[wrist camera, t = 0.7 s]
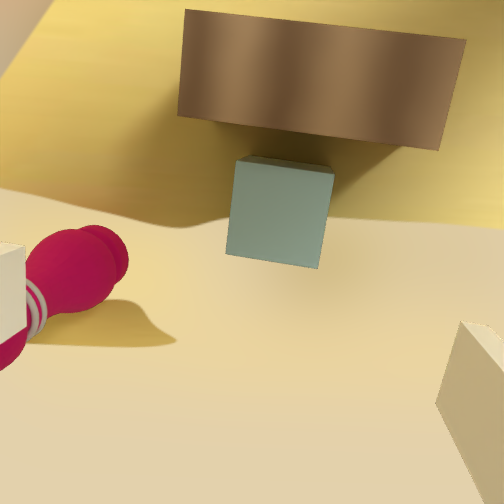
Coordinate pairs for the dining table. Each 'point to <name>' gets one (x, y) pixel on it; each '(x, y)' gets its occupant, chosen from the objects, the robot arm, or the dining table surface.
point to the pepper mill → (67, 279)
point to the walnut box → (318, 78)
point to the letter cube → (279, 210)
